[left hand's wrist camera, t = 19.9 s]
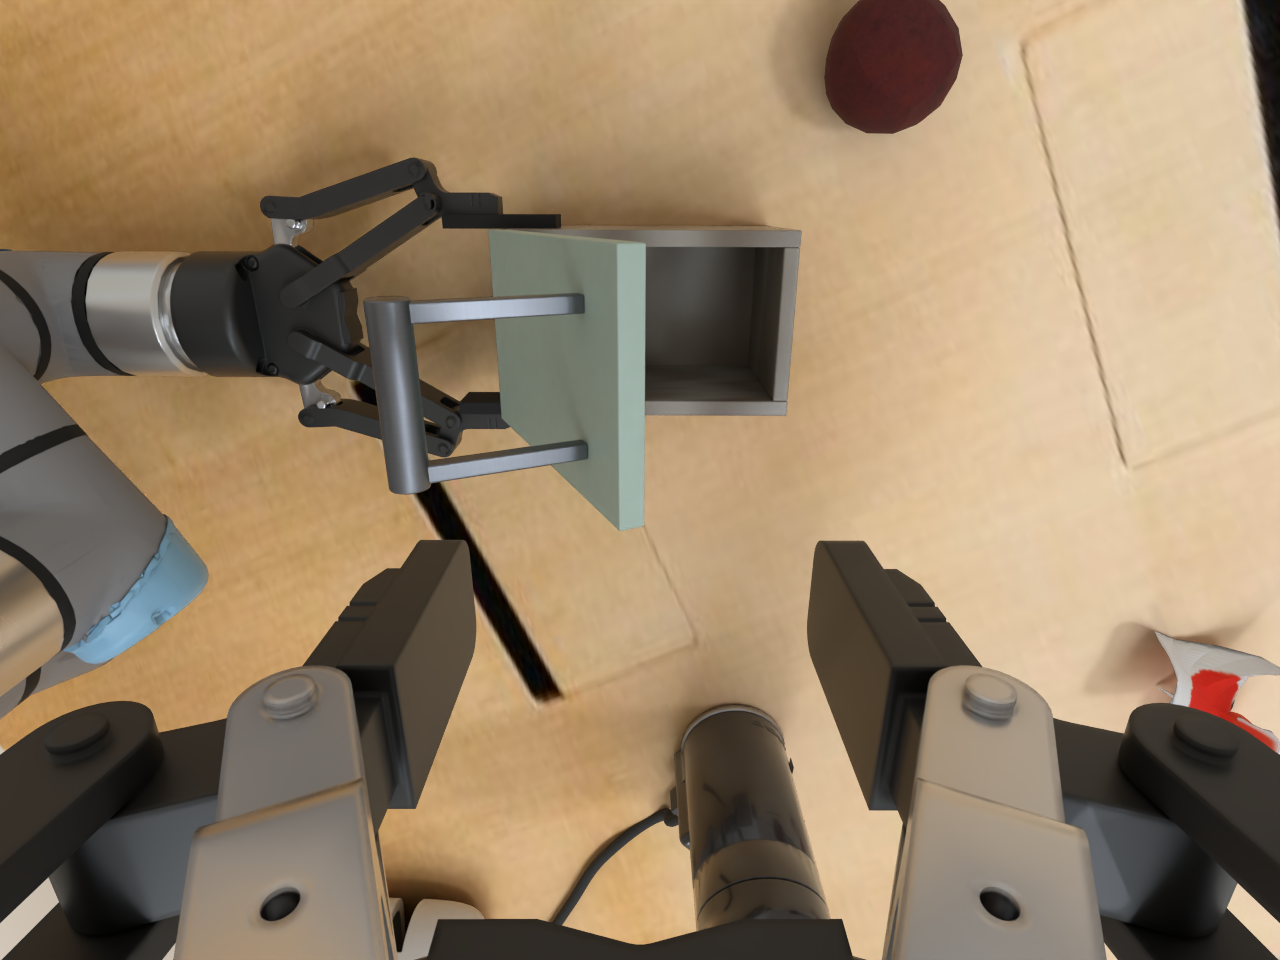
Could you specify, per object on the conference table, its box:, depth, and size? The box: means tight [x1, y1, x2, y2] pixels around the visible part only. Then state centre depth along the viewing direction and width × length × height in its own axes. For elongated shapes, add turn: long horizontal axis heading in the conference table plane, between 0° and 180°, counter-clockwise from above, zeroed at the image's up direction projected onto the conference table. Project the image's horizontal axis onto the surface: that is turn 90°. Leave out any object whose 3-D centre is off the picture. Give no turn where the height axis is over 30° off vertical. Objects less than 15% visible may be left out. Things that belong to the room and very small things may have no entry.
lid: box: [363, 230, 646, 531], centre depth 30 cm, size 17×10×9 cm
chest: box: [501, 225, 801, 416], centre depth 44 cm, size 16×10×11 cm, turn 90°
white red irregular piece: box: [1154, 631, 1280, 753], centre depth 58 cm, size 11×16×10 cm
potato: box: [825, 0, 962, 134], centre depth 41 cm, size 7×8×7 cm
